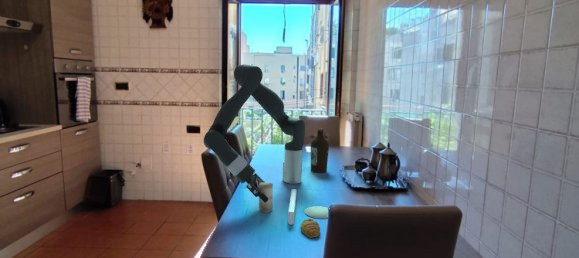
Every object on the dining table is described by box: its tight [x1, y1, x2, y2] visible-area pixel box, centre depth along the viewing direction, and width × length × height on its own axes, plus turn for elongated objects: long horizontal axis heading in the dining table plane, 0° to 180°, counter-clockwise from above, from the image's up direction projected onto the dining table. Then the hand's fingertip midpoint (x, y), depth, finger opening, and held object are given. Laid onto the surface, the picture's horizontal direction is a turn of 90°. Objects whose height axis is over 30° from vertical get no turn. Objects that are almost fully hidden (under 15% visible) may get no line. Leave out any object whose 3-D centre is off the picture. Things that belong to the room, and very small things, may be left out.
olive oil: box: [310, 127, 330, 174], centre depth 208 cm, size 11×11×25 cm
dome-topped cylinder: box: [258, 181, 274, 213], centre depth 148 cm, size 6×6×11 cm
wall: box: [287, 188, 297, 225], centre depth 148 cm, size 26×2×5 cm, turn 177°
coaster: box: [304, 205, 329, 220], centre depth 148 cm, size 12×12×1 cm
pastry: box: [300, 218, 321, 239], centre depth 129 cm, size 9×7×4 cm
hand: (268, 197), depth 148 cm, fingers open, 8 cm apart
